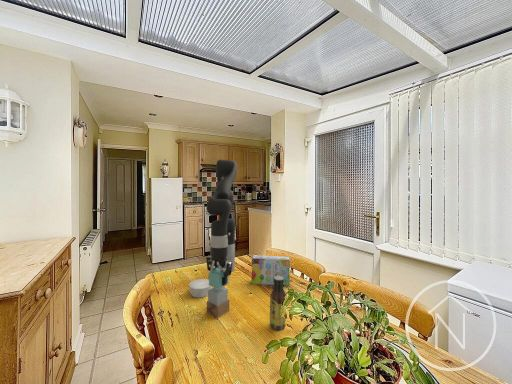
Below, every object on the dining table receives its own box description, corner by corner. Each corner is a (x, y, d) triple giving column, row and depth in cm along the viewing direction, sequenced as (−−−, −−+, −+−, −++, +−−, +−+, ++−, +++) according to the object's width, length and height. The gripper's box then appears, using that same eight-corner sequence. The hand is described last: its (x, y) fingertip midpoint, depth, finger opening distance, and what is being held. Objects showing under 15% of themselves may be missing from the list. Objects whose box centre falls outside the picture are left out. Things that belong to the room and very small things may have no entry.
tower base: (206, 312, 100) (206, 301, 100) (218, 305, 106) (218, 295, 106) (217, 318, 96) (218, 306, 96) (229, 310, 102) (229, 300, 102)
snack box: (288, 282, 132) (289, 256, 131) (289, 286, 126) (290, 259, 126) (252, 280, 134) (252, 254, 133) (251, 284, 128) (251, 257, 128)
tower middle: (208, 301, 100) (208, 290, 100) (218, 295, 105) (218, 285, 105) (217, 305, 97) (217, 294, 96) (227, 300, 101) (227, 289, 101)
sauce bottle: (268, 321, 94) (269, 274, 93) (283, 320, 95) (284, 273, 94) (271, 331, 88) (272, 280, 87) (287, 331, 88) (288, 280, 88)
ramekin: (206, 300, 110) (206, 289, 110) (184, 297, 113) (184, 287, 112) (214, 289, 121) (214, 279, 121) (195, 287, 124) (195, 277, 123)
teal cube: (208, 285, 100) (208, 271, 100) (218, 280, 105) (218, 267, 104) (218, 289, 96) (218, 274, 96) (228, 283, 101) (228, 270, 101)
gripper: (201, 243, 101) (201, 281, 102) (225, 249, 92) (224, 290, 93) (213, 240, 107) (213, 275, 108) (237, 245, 99) (236, 284, 99)
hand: (218, 282), depth 100 cm, fingers closed on teal cube, 6 cm apart
